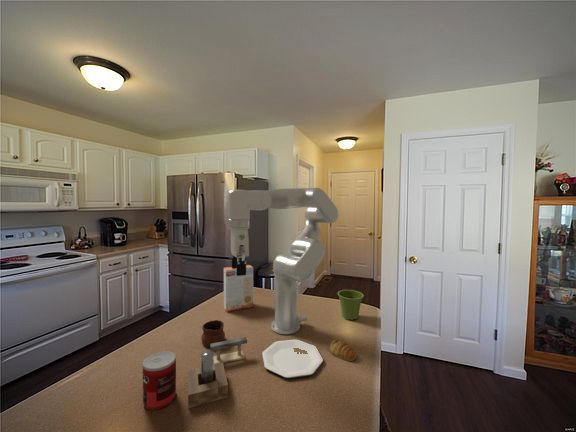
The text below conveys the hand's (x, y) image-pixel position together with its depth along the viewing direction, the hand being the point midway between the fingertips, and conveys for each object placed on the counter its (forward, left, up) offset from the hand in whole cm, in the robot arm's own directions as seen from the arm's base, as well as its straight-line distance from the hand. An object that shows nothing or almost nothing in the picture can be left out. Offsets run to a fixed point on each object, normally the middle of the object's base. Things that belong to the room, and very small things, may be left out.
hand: (238, 271), depth 88 cm
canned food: (+24, +16, -28) cm, 41 cm away
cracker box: (-7, -35, -28) cm, 46 cm away
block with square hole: (+12, +17, -28) cm, 35 cm away
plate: (-16, +13, -29) cm, 35 cm away
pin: (+12, +17, -28) cm, 35 cm away
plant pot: (-54, -6, -28) cm, 61 cm away
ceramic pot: (+8, -8, -29) cm, 31 cm away
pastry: (-34, +16, -29) cm, 48 cm away
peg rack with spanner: (+4, +5, -28) cm, 29 cm away
